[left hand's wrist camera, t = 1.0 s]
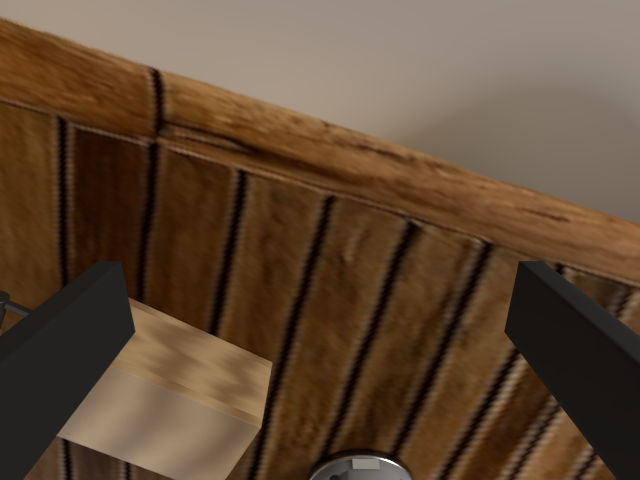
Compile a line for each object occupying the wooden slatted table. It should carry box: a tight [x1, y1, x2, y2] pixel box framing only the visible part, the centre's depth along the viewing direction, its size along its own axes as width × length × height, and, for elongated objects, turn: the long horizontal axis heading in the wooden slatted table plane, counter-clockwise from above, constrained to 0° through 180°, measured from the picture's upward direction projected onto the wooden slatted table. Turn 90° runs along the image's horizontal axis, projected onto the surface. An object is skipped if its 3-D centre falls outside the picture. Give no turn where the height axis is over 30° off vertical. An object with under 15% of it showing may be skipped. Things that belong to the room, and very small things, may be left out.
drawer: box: [0, 291, 33, 329], centre depth 39 cm, size 24×10×7 cm, turn 60°
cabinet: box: [57, 297, 272, 480], centre depth 40 cm, size 20×11×9 cm, turn 60°
